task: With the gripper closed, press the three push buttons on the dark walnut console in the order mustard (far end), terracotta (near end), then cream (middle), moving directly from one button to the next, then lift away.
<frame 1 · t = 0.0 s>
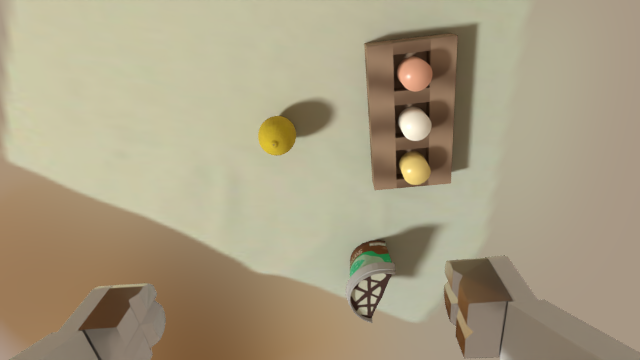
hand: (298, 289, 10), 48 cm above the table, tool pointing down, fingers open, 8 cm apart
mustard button: (414, 167, 55), point 5 cm above the table, slide at 0.0 cm
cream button: (414, 123, 52), point 5 cm above the table, slide at 0.0 cm
food container: (360, 256, 70), on the table
terracotta button: (414, 73, 49), point 5 cm above the table, slide at 0.0 cm
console: (407, 113, 57), on the table
lemon: (280, 126, 58), on the table
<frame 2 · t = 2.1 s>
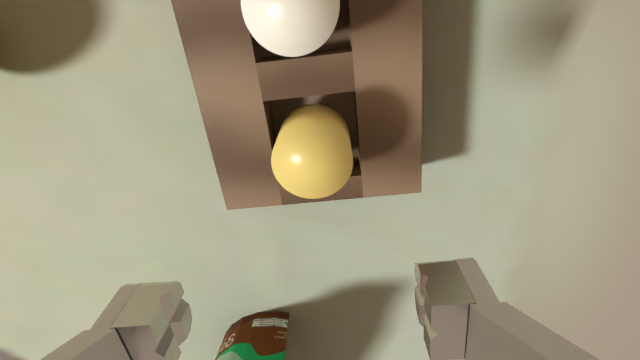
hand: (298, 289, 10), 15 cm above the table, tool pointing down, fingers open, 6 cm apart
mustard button: (313, 149, 19), point 5 cm above the table, slide at 0.0 cm
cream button: (293, 4, 16), point 5 cm above the table, slide at 0.0 cm
food container: (245, 340, 34), on the table
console: (301, 2, 21), on the table
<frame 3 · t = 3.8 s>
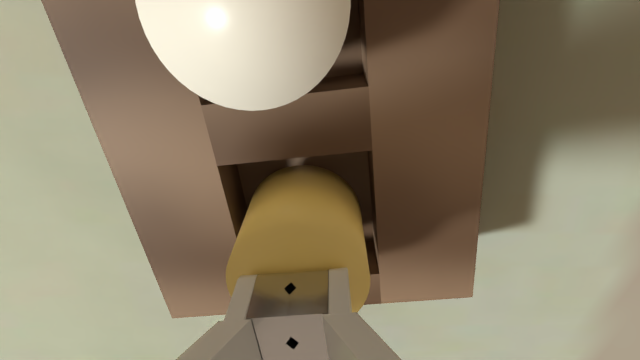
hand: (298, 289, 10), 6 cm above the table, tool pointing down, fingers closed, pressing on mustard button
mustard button: (302, 244, 12), point 5 cm above the table, slide at 0.3 cm, touching gripper
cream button: (258, 3, 8), point 5 cm above the table, slide at 0.0 cm
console: (282, 0, 13), on the table
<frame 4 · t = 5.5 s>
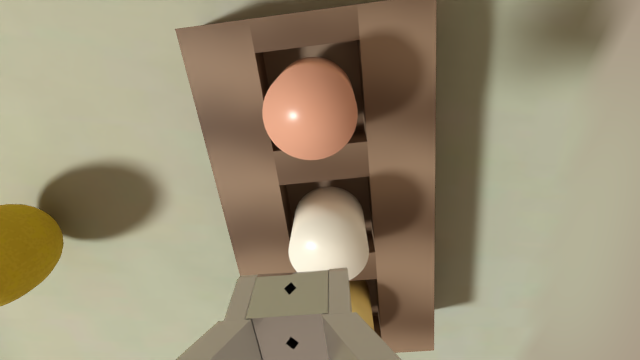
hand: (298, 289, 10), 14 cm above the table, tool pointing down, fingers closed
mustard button: (340, 311, 24), point 3 cm above the table, slide at 1.5 cm
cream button: (328, 233, 20), point 5 cm above the table, slide at 0.0 cm
terracotta button: (312, 106, 17), point 5 cm above the table, slide at 0.0 cm
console: (329, 193, 24), on the table
lemon: (50, 218, 26), on the table
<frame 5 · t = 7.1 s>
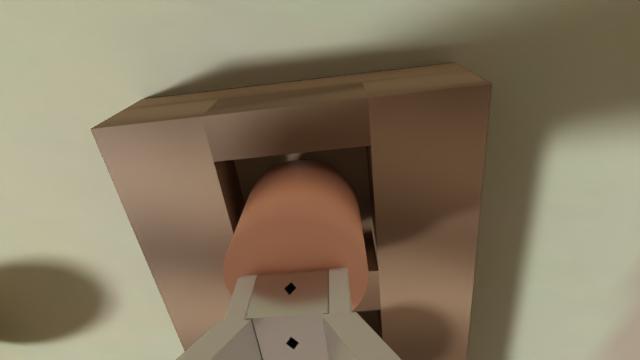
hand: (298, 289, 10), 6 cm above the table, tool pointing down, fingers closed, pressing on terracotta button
terracotta button: (300, 239, 12), point 5 cm above the table, slide at 0.3 cm, touching gripper
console: (325, 296, 19), on the table
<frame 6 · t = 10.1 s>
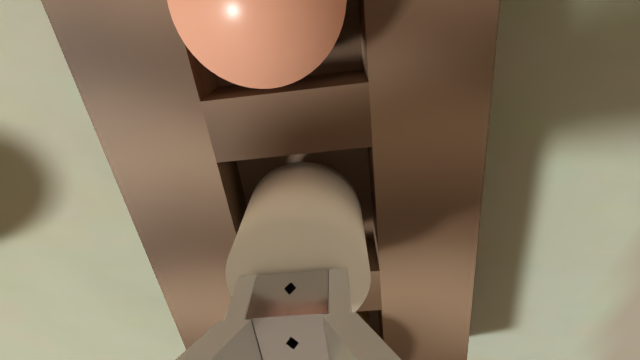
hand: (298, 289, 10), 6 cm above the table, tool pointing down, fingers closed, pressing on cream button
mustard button: (326, 354, 16), point 3 cm above the table, slide at 1.5 cm
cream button: (302, 241, 12), point 5 cm above the table, slide at 0.2 cm, touching gripper
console: (308, 176, 16), on the table
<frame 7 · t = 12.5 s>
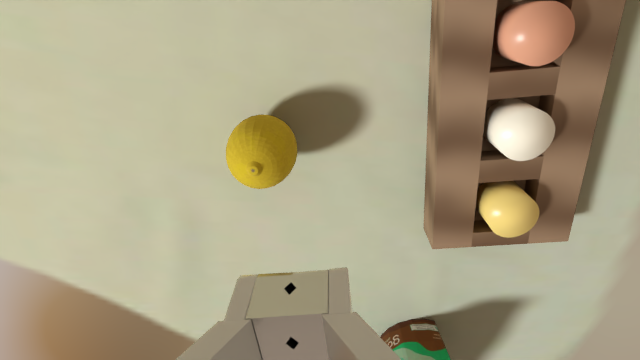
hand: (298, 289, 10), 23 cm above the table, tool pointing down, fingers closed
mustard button: (504, 206, 32), point 3 cm above the table, slide at 1.5 cm
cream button: (515, 128, 29), point 3 cm above the table, slide at 1.5 cm
food container: (393, 340, 44), on the table
terracotta button: (529, 32, 26), point 3 cm above the table, slide at 1.5 cm
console: (497, 116, 32), on the table
lemon: (270, 134, 33), on the table
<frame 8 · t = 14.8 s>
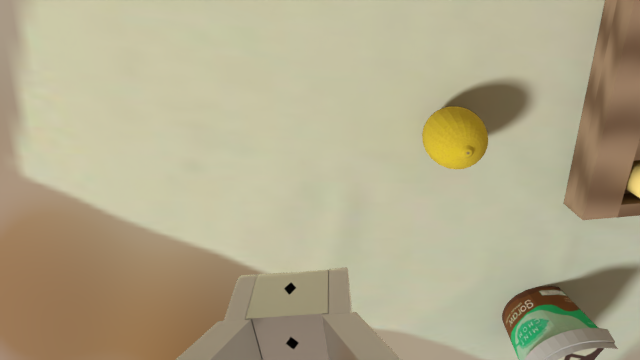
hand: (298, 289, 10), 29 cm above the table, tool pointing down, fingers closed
food container: (518, 306, 49), on the table
lemon: (441, 123, 38), on the table
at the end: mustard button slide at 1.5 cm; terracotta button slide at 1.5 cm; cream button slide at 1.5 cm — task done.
